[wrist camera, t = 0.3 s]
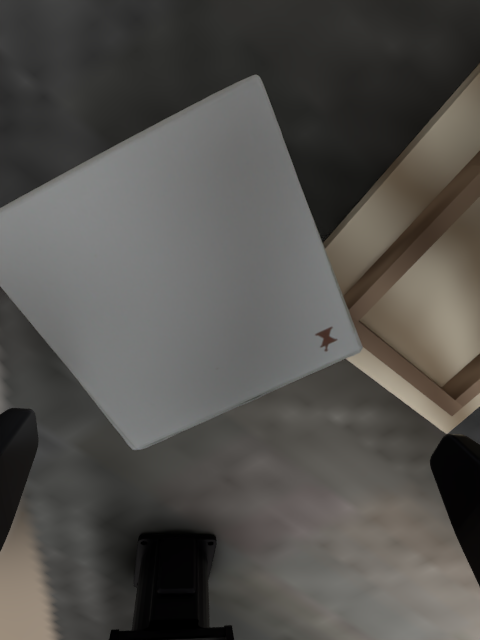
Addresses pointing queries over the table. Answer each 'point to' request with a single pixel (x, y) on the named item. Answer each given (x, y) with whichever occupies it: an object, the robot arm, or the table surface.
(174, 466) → the table surface
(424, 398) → the awning stand
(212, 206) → the supplement box
